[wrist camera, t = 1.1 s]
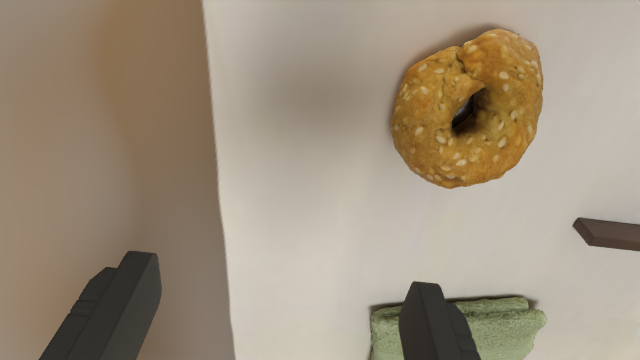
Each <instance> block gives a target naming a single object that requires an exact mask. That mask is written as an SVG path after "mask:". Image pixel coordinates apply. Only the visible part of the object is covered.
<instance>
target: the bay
mask: <svg viewBox="0 0 640 360" xmlns="http://www.w3.org/2000/svg"><path fill="white" fill-rule="evenodd" d="M573 227H574V228H575V229H576V231H577V232H578V233H579V234H580V235H581V237H582V238H583V239H584V240H585V242H586V243H587V244H588V245H589V246H597V247H606V248H615V249H624V250H633V251H640V225H633V224H625V223H616V222H608V221H599V220H591V219H582V218H578V219H577V221H576V222H575V224H574V225H573Z"/></svg>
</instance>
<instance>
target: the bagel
mask: <svg viewBox="0 0 640 360" xmlns="http://www.w3.org/2000/svg"><path fill="white" fill-rule="evenodd" d="M542 90H543V75H542V69H541V62H540V56H539V53H538V50H537V48H536V46H535V45H534V44H533V43H532V42H530V41H527V40H525V39H523V38H522V37H520V35H519V34H515V33H514V32H510V31H506V30H504V29H494V30H490V31H486V32H485V33H483V34H481V35H480V36H479V37H477V38H476V39H474V40H472V41H467V42H465V43H464V45H463V46H462V47H458V46H452V47H449V48H446V49H445V50H443V51H441V50H440V51H438V52H437V53H436V54H434V55H431V56H429V57H428V58H426V59H424V60H421V61H419V62H417V63H416V64H415V65H413V66H412V67H411V68H410V69H409V70H408V71H407V72H406V73H405V75H404V77H403V81H402V85H401V87H400V89H399V91H398V94H397V97H396V100H395V106H394V111H393V117H392V119H391V122H390V124H391V133H392V136H393V139H394V146H395V149H396V150H397V151H398V153H399V154H400V155H401V157H402V158H403V160H404V161H405V163H406V164H407V165H408V167H409V168H410V170H411V171H412V172H414V173H415V174H418V175H419V176H420V177H422V178H424V179H425V180H427V181H429V182H431V183H434V184H436V185H438V186H442V187H444V188H448V189H452V188H455V187H461V186H463V187H467V186H471V185H474V184H479V183H485V182H488V181H490V180H492V179H498V178H501V177H502V176H503V175H504V173H505V172H506V171H508V170H510V169H511V168H513V167H514V166H515V165H516V164H517V163H518V162H519V160H520V159H521V157H522V155H523V154H524V153H525V151H526V149H527V148H528V146H529V145H530V143H531V142H532V141H533V139H534V137H535V134H536V129H537V122H538V117H539V115H540V112H541V108H542V102H543V98H542ZM472 94H474V104H473V106H474V109H473V112H472V113H471V114H470V116H469V117H467V118H466V120H465V121H463V122H462V123H460V124H458V125H457V126H456V127H455V128H452V122H451V121H452V120H453V117H454V115H455V114H456V113H457V112H458V111H459V109H460V108H461V107H462V106H463V105H464V104H465V102H466V101H467V100H468V99H469V98H470V97H471V96H472Z"/></svg>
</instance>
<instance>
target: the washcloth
mask: <svg viewBox="0 0 640 360" xmlns="http://www.w3.org/2000/svg"><path fill="white" fill-rule="evenodd" d="M454 303H455V304H456V306H457V307H458V308H459V310H460V311H461V312H462V314H463V315H464V316H465V317H466V319H467V322H468V325H469V327H470V330H471V333H472V338H474V341H475V344H476V347H477V352H479V355H480V358H481V360H522V359H523V358H524V357H525V356H526V355H527V354H528V353H529V352H530V351H531V350H532V348H533V345H534V343H533V342H534V338H535V335H536V333H537V332H538V330H539V329H540V328H542V327H543V326H544V325H545V323H546V320H547V319H546V316H545V314H544V312H543V311H539V309H538V310H537V309H535V308H531V309H529V306H528V302H527V301H526V299H525V298H517V297H513V298H503V299H498V300H497V299H495V300H489V299H481V300H478V301H468V302H461V301H458V302H454ZM401 308H402V306H397V307H391V308H389V307H384V308H381V309H380V310H378V311H375V312H373V313H372V316H371V319H370V320H371V328H372V330H371V333H372V335H371V342H372V345H373V351H372V354H371V359H370V360H404V356H403V351H402V345H401V340H400V334H399V326H398V322H399V314H400V310H401Z"/></svg>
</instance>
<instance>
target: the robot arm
mask: <svg viewBox="0 0 640 360" xmlns="http://www.w3.org/2000/svg"><path fill="white" fill-rule="evenodd" d="M161 292H162V286H161V278H160V270H159V262H158V256H157V254H156V253H148V252H138V251H128V252H127V253H126V255H125V256H124V258H123V260H122V261H121V263H120V265H119V266H118V268H111V267H106V268H104V269H103V270H102V271H101V272H99V273H98V274H97V275H96V276H95V277H93V278H92V279H91V280H90V281H89V283H88V284H87V285H86V287H85V289H84V290H83V292H82V293H81V295H80V297H79V300H77V301H76V303H75V304H74V306H73V307H72V309H71V312H70V314H68V315H67V317H66V318H65V320H64V321H63V323H62V324H61V326H60V327H59V329H58V331H57V332H56V334H55V335H54V337H53V338H52V340H51V341H50V343H49V345H48V346H47V348H46V349H45V351H44V352H43V354H42V355H41V357H40V359H39V360H136V358H137V356H138V354H139V351H140V348H141V347H142V344H143V342H144V339H145V337H146V335H147V332H148V330H149V327H150V325H151V323H152V320H153V318H154V316H155V313H156V311H157V309H158V306H159V303H160V298H161ZM398 326H399V334H400V340H401V345H402V351H403V356H404V360H481V358H480V355H479V352H477V347H476V344H475V341H474V338H472V333H471V330H470V327H469V325H468V322H467V319H466V317H465V316H464V315H463V314H462V312H461V311H460V310H459V308H458V307H457V306H456V304H455V303H447V302H445V299H444V296H443V293H442V290H441V287H440V286H439V284H435V283H426V282H416V281H414V282H413V283H412V284H411V286H410V289H409V291H408V294H407V296H406V298H405V301H404V303H403V306H402V308H401V310H400V314H399V322H398Z"/></svg>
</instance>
